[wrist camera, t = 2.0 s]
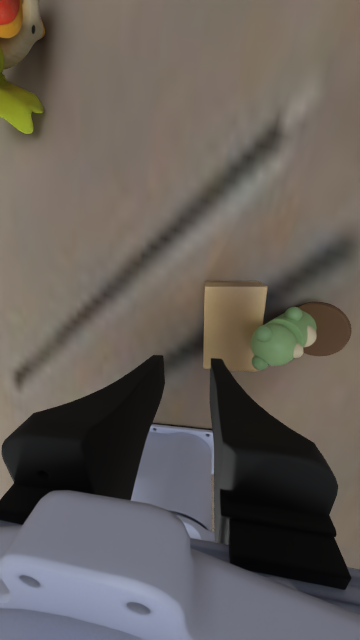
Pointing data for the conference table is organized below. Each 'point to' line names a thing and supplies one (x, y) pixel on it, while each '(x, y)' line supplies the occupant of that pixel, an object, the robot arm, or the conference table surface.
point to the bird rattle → (18, 59)
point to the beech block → (232, 321)
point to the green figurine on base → (300, 334)
